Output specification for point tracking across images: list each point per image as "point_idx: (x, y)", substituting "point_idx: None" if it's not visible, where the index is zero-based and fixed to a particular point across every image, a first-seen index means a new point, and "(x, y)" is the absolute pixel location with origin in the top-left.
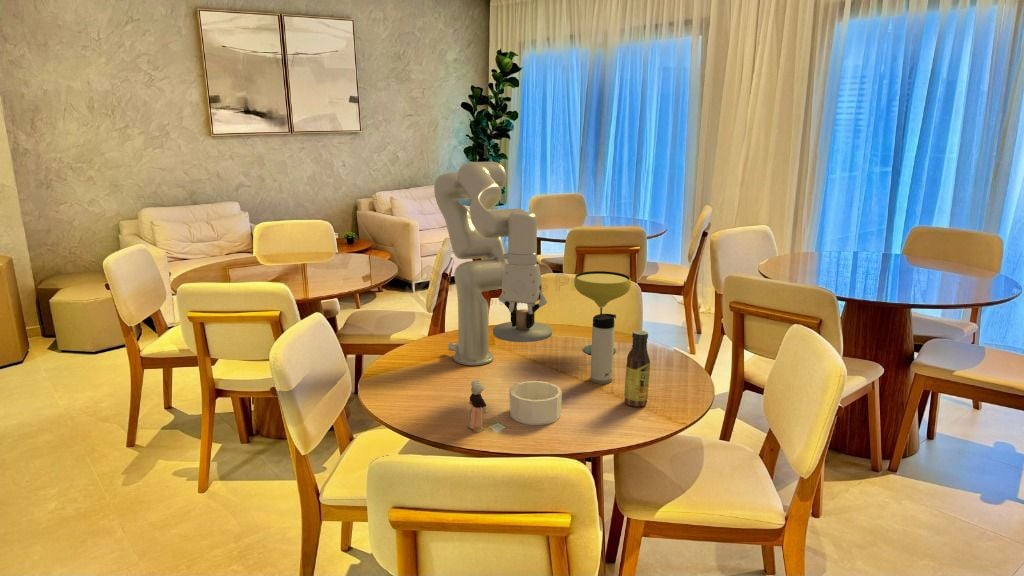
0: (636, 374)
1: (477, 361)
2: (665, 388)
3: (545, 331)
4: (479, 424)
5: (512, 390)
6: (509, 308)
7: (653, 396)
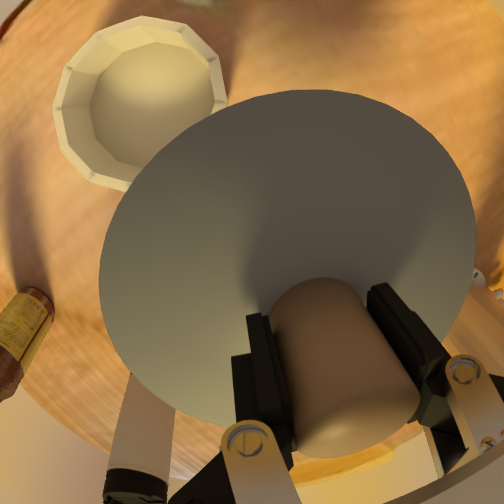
0: None
1: None
2: (58, 380)
3: (150, 351)
4: None
5: (201, 51)
6: (483, 374)
7: (43, 346)
